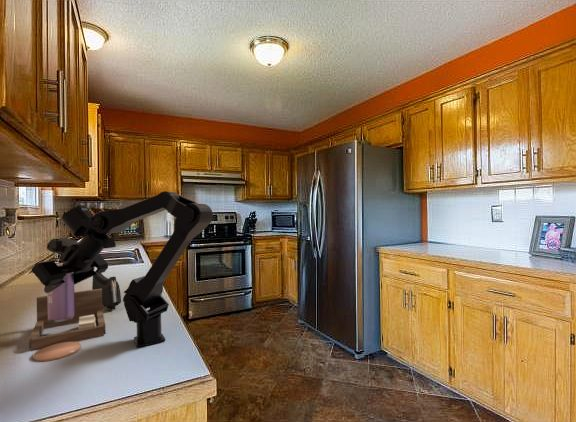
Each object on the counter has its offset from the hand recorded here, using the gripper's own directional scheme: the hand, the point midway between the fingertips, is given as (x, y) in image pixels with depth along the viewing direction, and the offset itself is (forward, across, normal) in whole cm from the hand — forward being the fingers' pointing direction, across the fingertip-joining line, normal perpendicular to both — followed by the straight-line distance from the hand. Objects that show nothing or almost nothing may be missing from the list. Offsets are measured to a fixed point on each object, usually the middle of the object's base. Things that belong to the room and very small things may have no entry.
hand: (56, 289), depth 85 cm
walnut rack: (+7, -2, +10) cm, 13 cm away
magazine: (+16, -28, +1) cm, 33 cm away
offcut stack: (+4, -3, +14) cm, 15 cm away
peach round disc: (+1, +10, +17) cm, 19 cm away
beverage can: (+5, 0, +7) cm, 9 cm away
